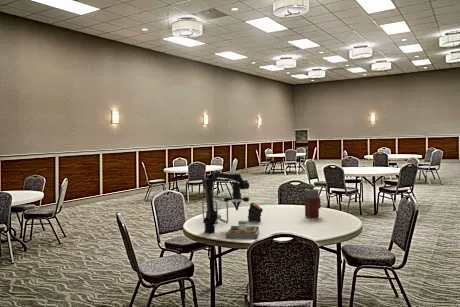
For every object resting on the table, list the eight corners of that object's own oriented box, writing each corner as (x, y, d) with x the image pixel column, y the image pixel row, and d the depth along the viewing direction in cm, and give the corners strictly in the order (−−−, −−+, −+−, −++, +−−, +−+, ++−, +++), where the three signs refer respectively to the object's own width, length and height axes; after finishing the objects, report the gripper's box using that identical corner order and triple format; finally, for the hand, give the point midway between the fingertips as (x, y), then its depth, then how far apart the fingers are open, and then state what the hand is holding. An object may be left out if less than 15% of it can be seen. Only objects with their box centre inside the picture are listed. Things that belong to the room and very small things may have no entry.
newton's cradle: (228, 222, 322) (228, 201, 321) (216, 224, 317) (216, 202, 317) (213, 216, 349) (213, 196, 348) (202, 218, 344) (202, 197, 344)
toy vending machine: (321, 217, 334) (321, 184, 333) (308, 218, 332) (308, 184, 331) (317, 215, 342) (316, 183, 341) (305, 216, 341) (304, 183, 340)
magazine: (247, 217, 333) (253, 202, 328) (259, 226, 325) (264, 210, 320) (244, 218, 330) (250, 202, 325) (256, 227, 322) (262, 211, 317)
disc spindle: (237, 235, 275) (237, 222, 275) (240, 233, 281) (239, 220, 280) (245, 235, 273) (245, 222, 273) (248, 233, 279) (247, 220, 279)
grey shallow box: (226, 238, 273) (226, 233, 273) (229, 233, 286) (229, 229, 286) (257, 238, 269) (256, 234, 269) (259, 233, 282) (259, 229, 282)
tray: (227, 237, 274) (227, 230, 274) (231, 231, 289) (231, 225, 289) (256, 237, 270) (256, 231, 270) (258, 232, 286) (258, 226, 286)
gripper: (250, 188, 309) (250, 208, 310) (226, 188, 313) (227, 208, 314) (248, 190, 299) (248, 211, 299) (223, 190, 302) (224, 211, 303)
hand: (237, 210), depth 304 cm, fingers closed
